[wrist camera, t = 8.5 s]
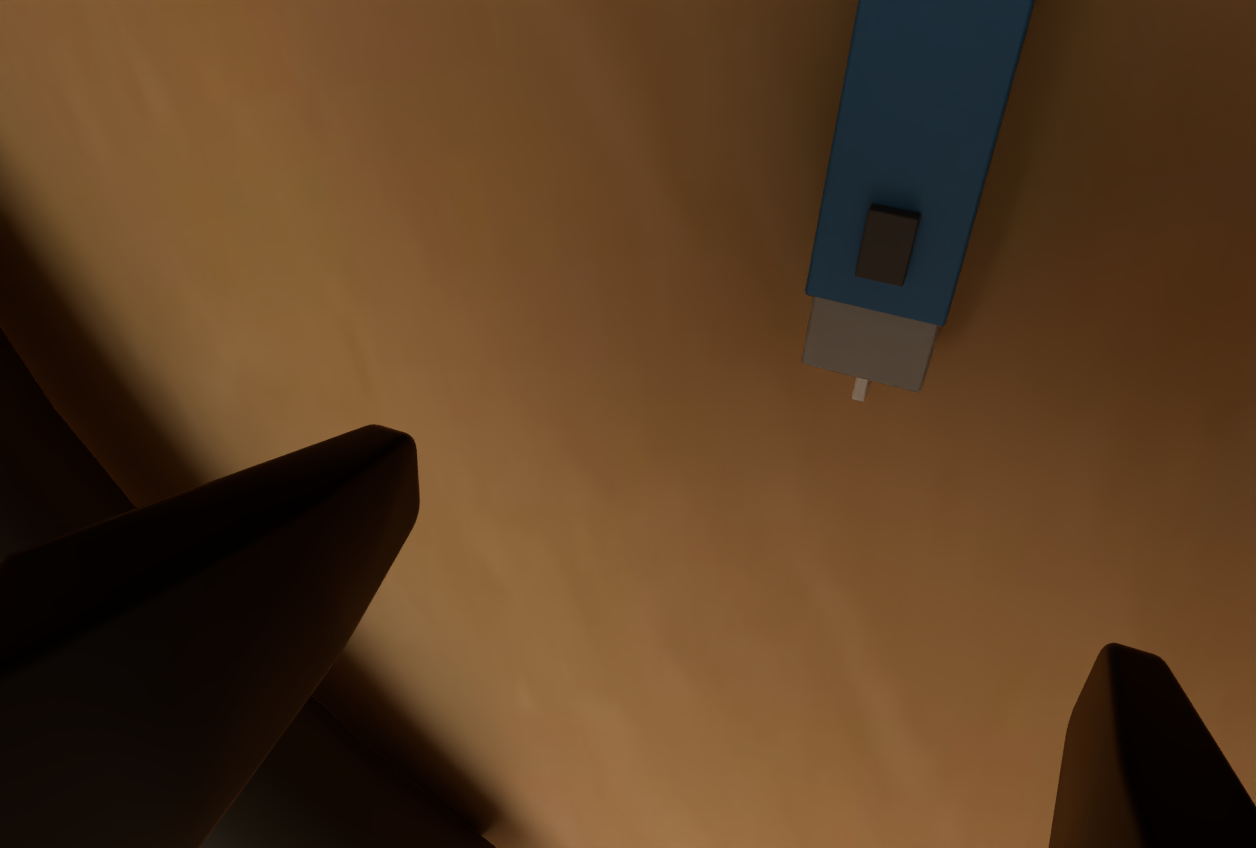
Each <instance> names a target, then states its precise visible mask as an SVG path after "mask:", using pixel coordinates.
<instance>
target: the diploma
mask: <svg viewBox="0 0 1256 848" xmlns="http://www.w3.org/2000/svg"><path fill="white" fill-rule="evenodd" d="M133 509H136V507H135V506H134V504H133V503H132V502H131V501H130V500H129V498H128V497H127V496H126V495H125V493H124V492H123V491H122V490H121V489H120V487H119V486H118V485H117V484H116V483H115V481H114V480H113V479H112V478H111V477H110V475H109V474H108V473H107V472H106V470H105V469H104V468H103V467H102V466H101V464H100V463H99V462H98V461H97V460H96V458H95V457H94V456H93V455H92V454H91V452H90V451H89V450H88V449H87V447H86V446H85V445H84V444H83V443H82V441H81V440H80V439H79V438H78V437H77V435H76V434H75V433H74V432H73V430H72V429H71V428H70V427H69V426H68V424H67V423H66V422H65V421H64V420H63V418H62V417H61V416H60V415H59V414H58V412H57V411H56V410H55V409H54V407H53V406H52V404H51V403H50V401H49V400H48V398H47V397H46V395H45V394H44V392H43V391H42V389H41V388H40V386H39V385H38V383H37V382H36V380H35V379H34V377H33V376H32V374H31V373H30V371H29V370H28V368H27V367H26V365H25V364H24V362H23V361H22V359H21V358H20V356H19V355H18V353H17V352H16V350H15V349H14V347H13V346H12V344H11V343H10V341H9V340H8V338H7V337H6V335H5V334H4V332H3V331H2V329H1V328H0V562H1V560H2V559H3V557H4V556H6V555H8V554H11V553H14V552H16V551H19V550H22V549H25V548H27V547H30V546H33V545H36V544H39V543H41V542H44V541H47V540H50V539H52V538H55V537H58V536H61V535H64V534H66V533H69V532H72V531H75V530H78V529H80V528H83V527H86V526H89V525H91V524H94V523H97V522H100V521H103V520H105V519H108V518H111V517H114V516H117V515H119V514H122V513H125V512H128V511H130V510H133ZM200 848H496V847H495V846H494V845H492V844H491V843H490V842H489V841H487V840H486V839H485V838H484V837H482V836H481V835H480V834H478V833H477V832H476V831H475V830H473V829H472V828H471V827H470V826H468V825H467V824H466V823H464V822H463V821H462V820H461V819H459V818H458V817H457V816H456V815H454V814H453V813H452V812H451V811H449V810H448V809H447V808H445V807H444V806H443V805H442V804H440V803H439V802H438V801H437V800H435V799H434V798H433V797H431V796H430V795H429V794H428V793H426V792H425V791H424V790H423V789H421V788H420V787H419V786H417V785H416V784H415V783H414V782H412V781H411V780H410V779H409V778H407V777H406V776H405V775H403V774H402V773H401V772H400V771H398V770H397V769H396V768H395V767H393V766H392V765H391V764H389V763H388V762H387V761H386V760H384V759H383V758H382V757H381V756H379V755H378V754H377V753H375V752H374V751H373V750H372V749H370V748H369V747H368V746H367V745H365V744H364V743H363V742H362V741H360V740H359V739H358V738H356V737H355V736H354V735H353V734H351V733H350V732H349V731H348V730H347V729H346V728H345V727H344V726H343V725H342V724H341V723H340V722H339V721H338V720H337V719H336V718H335V717H334V716H333V715H332V714H331V713H330V712H329V711H328V710H327V709H326V708H324V707H323V706H322V705H321V704H320V703H319V702H318V701H317V700H316V699H315V698H314V697H313V696H312V695H311V696H310V697H309V699H308V700H307V701H306V703H305V704H304V706H303V707H302V708H301V710H300V711H299V712H298V714H297V715H296V717H295V718H294V719H293V721H292V722H291V723H290V725H289V726H288V728H287V729H286V730H285V732H284V733H283V734H282V736H281V737H280V739H279V740H278V741H277V743H276V744H275V745H274V747H273V748H272V750H271V751H270V752H269V754H268V755H267V756H266V758H265V759H264V761H263V762H262V763H261V765H260V766H259V767H258V769H257V770H256V772H255V773H254V774H253V776H252V777H251V778H250V780H249V781H248V782H247V784H246V785H245V787H244V788H243V789H242V791H241V792H240V793H239V795H238V796H237V798H236V799H235V800H234V802H233V803H232V804H231V806H230V807H229V809H228V810H227V811H226V813H225V814H224V815H223V817H222V818H221V820H220V821H219V822H218V824H217V825H216V826H215V828H214V829H213V831H212V832H211V833H210V835H209V836H208V837H207V839H206V840H205V842H204V843H203V844H202V846H201V847H200Z"/></svg>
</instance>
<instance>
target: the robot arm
mask: <svg viewBox="0 0 1256 848" xmlns="http://www.w3.org/2000/svg"><path fill="white" fill-rule="evenodd" d="M419 505H420V497H419V480H418V463H417V449H416V444H415V441H414V439H413V438H412V437H411V436H410V435H409V434H407V433H405V432H401V431H398V430H394V429H391V428H388V427H384V426H381V425H375V424H373V425H367V426H364V427H361V428H359V429H356V430H353V431H350V432H347V433H345V434H342V435H339V436H336V437H333V438H331V439H328V440H325V441H322V442H320V443H317V444H314V445H311V446H308V447H306V448H303V449H300V450H297V451H295V452H292V453H289V454H286V455H283V456H281V457H278V458H275V459H272V460H270V461H267V462H264V463H261V464H258V465H256V466H253V467H250V468H247V469H245V470H242V471H239V472H236V473H233V474H231V475H228V476H225V477H222V478H220V479H217V480H214V481H211V482H208V483H206V484H203V485H200V486H197V487H195V488H192V489H189V490H186V491H183V492H181V493H178V494H175V495H172V496H169V497H167V498H164V499H161V500H158V501H156V502H153V503H150V504H147V505H144V506H142V507H139V508H136V509H133V510H130V511H128V512H125V513H122V514H119V515H117V516H114V517H111V518H108V519H105V520H103V521H100V522H97V523H94V524H91V525H89V526H86V527H83V528H80V529H78V530H75V531H72V532H69V533H66V534H64V535H61V536H58V537H55V538H52V539H50V540H47V541H44V542H41V543H39V544H36V545H33V546H30V547H27V548H25V549H22V550H19V551H16V552H14V553H11V554H8V555H6V556H4V557H3V559H2V560H1V562H0V848H200V847H201V846H202V844H203V843H204V842H205V840H206V839H207V837H208V836H209V835H210V833H211V832H212V831H213V829H214V828H215V826H216V825H217V824H218V822H219V821H220V820H221V818H222V817H223V815H224V814H225V813H226V811H227V810H228V809H229V807H230V806H231V804H232V803H233V802H234V800H235V799H236V798H237V796H238V795H239V793H240V792H241V791H242V789H243V788H244V787H245V785H246V784H247V782H248V781H249V780H250V778H251V777H252V776H253V774H254V773H255V772H256V770H257V769H258V767H259V766H260V765H261V763H262V762H263V761H264V759H265V758H266V756H267V755H268V754H269V752H270V751H271V750H272V748H273V747H274V745H275V744H276V743H277V741H278V740H279V739H280V737H281V736H282V734H283V733H284V732H285V730H286V729H287V728H288V726H289V725H290V723H291V722H292V721H293V719H294V718H295V717H296V715H297V714H298V712H299V711H300V710H301V708H302V707H303V706H304V704H305V703H306V701H307V700H308V699H309V697H310V696H311V695H312V693H313V692H314V690H315V689H316V688H317V686H318V685H319V684H320V682H321V681H322V679H323V678H324V677H325V675H326V674H327V673H328V671H329V670H330V668H331V667H332V665H333V664H334V662H335V661H336V659H337V658H338V657H339V655H340V654H341V652H342V650H343V649H344V647H345V645H346V644H347V642H348V641H349V639H350V637H351V636H352V634H353V632H354V630H355V629H356V627H357V625H358V623H359V622H360V620H361V618H362V616H363V615H364V613H365V611H366V609H367V608H368V606H369V604H370V602H371V601H372V599H373V597H374V595H375V594H376V592H377V590H378V588H379V587H380V585H381V583H382V581H383V580H384V578H385V576H386V574H387V572H388V571H389V569H390V567H391V565H392V564H393V562H394V560H395V558H396V557H397V555H398V553H399V551H400V550H401V548H402V546H403V544H404V543H405V541H406V539H407V537H408V536H409V534H410V532H411V530H412V528H413V526H414V524H415V522H416V519H417V516H418V512H419ZM1049 848H1256V806H1255V804H1254V802H1253V801H1252V799H1251V798H1250V796H1249V794H1248V793H1247V791H1246V790H1245V788H1244V786H1243V785H1242V783H1241V782H1240V780H1239V779H1238V777H1237V775H1236V774H1235V772H1234V771H1233V769H1232V767H1231V766H1230V764H1229V763H1228V761H1227V759H1226V758H1225V756H1224V755H1223V753H1222V751H1221V750H1220V748H1219V747H1218V745H1217V743H1216V742H1215V740H1214V739H1213V737H1212V735H1211V734H1210V732H1209V731H1208V729H1207V727H1206V726H1205V724H1204V723H1203V721H1202V719H1201V718H1200V716H1199V715H1198V713H1197V711H1196V710H1195V708H1194V707H1193V705H1192V703H1191V702H1190V700H1189V699H1188V697H1187V695H1186V694H1185V692H1184V691H1183V689H1182V687H1181V686H1180V684H1179V683H1178V681H1177V679H1176V678H1175V676H1174V675H1173V673H1172V671H1171V670H1170V668H1169V667H1168V665H1167V664H1166V662H1165V661H1164V660H1163V659H1161V658H1160V657H1159V656H1157V655H1155V654H1152V653H1148V652H1145V651H1142V650H1138V649H1135V648H1132V647H1128V646H1125V645H1121V644H1118V643H1110V644H1107V645H1105V646H1104V647H1103V648H1102V649H1101V651H1100V653H1099V654H1098V656H1097V659H1096V661H1095V663H1094V665H1093V667H1092V669H1091V672H1090V674H1089V676H1088V678H1087V680H1086V682H1085V684H1084V687H1083V689H1082V691H1081V693H1080V695H1079V697H1078V700H1077V702H1076V704H1075V706H1074V708H1073V711H1072V714H1071V717H1070V720H1069V724H1068V728H1067V732H1066V737H1065V743H1064V750H1063V757H1062V763H1061V770H1060V776H1059V783H1058V789H1057V796H1056V803H1055V809H1054V816H1053V822H1052V829H1051V835H1050V842H1049Z"/></svg>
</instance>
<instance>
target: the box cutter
mask: <svg viewBox="0 0 1256 848" xmlns="http://www.w3.org/2000/svg"><path fill="white" fill-rule="evenodd" d="M1034 3H1035V0H859V1H858V7H857V12H856V18H855V23H854V28H853V34H852V39H851V45H850V50H849V56H848V61H847V66H846V72H845V77H844V83H843V88H842V94H841V99H840V105H839V110H838V115H837V121H836V126H835V132H834V137H833V143H832V148H831V153H830V159H829V164H828V170H827V175H826V181H825V186H824V192H823V197H822V202H821V208H820V213H819V219H818V224H817V230H816V235H815V240H814V246H813V251H812V257H811V262H810V268H809V273H808V278H807V284H806V289H805V292H806V294H807V295H810V296H813V301H812V306H811V312H810V317H809V322H808V328H807V333H806V338H805V343H804V349H803V354H802V359H801V360H802V363H803V364H806V365H810V366H814V367H818V368H822V369H826V370H830V371H834V372H838V373H842V374H846V375H850V376H854V377H856V380H855V384H854V389H853V393H852V399H854V400H858V401H862V402H863V401H864V399H865V396H866V394H867V391H868V388H869V386H870V383H871V381H874V382H877V383H881V384H885V385H889V386H893V387H897V388H901V389H905V390H909V391H913V392H920V391H921V390H922V386H923V383H924V380H925V376H926V373H927V369H928V366H929V363H930V359H931V356H932V352H933V349H934V346H935V342H936V339H937V335H938V331H939V327H940V326H944V325H945V324H946V321H947V317H948V314H949V310H950V307H951V303H952V300H953V296H954V293H955V289H956V286H957V282H958V279H959V275H960V272H961V268H962V264H963V261H964V257H965V254H966V250H967V246H968V243H969V239H970V235H971V232H972V228H973V224H974V221H975V217H976V214H977V210H978V206H979V203H980V199H981V195H982V192H983V188H984V185H985V181H986V177H987V174H988V170H989V166H990V163H991V159H992V155H993V152H994V148H995V145H996V141H997V137H998V134H999V130H1000V126H1001V123H1002V119H1003V116H1004V112H1005V108H1006V105H1007V101H1008V97H1009V94H1010V90H1011V86H1012V83H1013V79H1014V76H1015V72H1016V68H1017V65H1018V61H1019V57H1020V54H1021V50H1022V46H1023V43H1024V39H1025V36H1026V32H1027V28H1028V25H1029V21H1030V17H1031V14H1032V10H1033V7H1034Z"/></svg>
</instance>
